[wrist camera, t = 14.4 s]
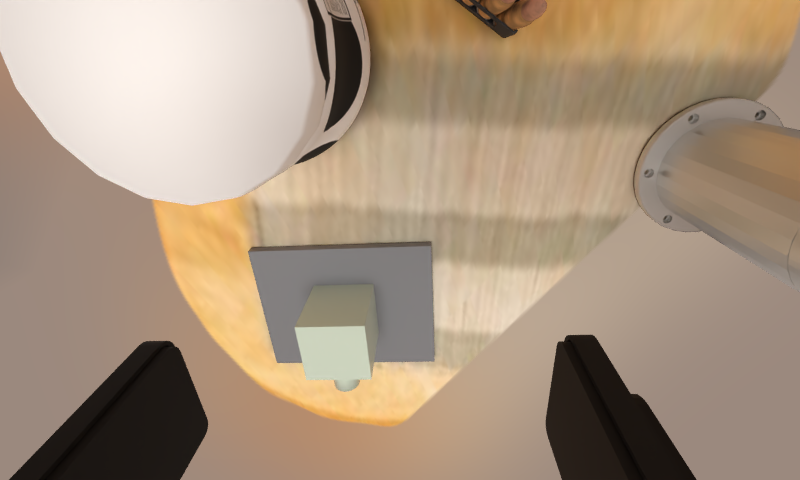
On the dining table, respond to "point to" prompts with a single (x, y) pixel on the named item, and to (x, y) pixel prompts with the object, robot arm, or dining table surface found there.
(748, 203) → the robot arm
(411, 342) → the board
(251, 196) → the dining table surface
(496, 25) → the ammunition clip
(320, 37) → the milk container
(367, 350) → the block with round peg
